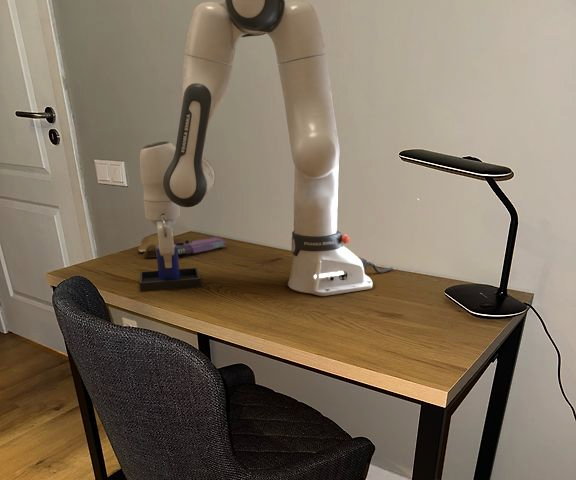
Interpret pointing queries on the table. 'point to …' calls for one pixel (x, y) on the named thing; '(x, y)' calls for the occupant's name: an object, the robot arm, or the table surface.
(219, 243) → the toy gun
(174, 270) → the can
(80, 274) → the table surface
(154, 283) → the tray
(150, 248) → the stone tool
